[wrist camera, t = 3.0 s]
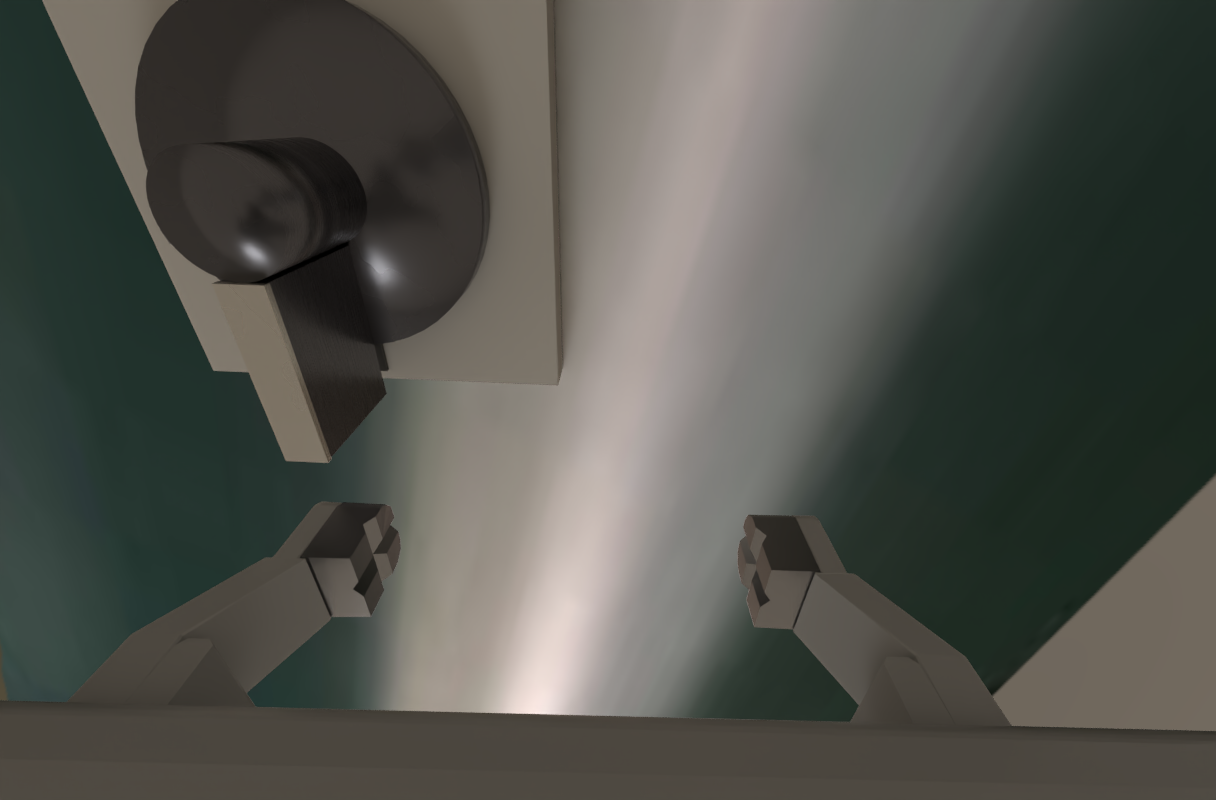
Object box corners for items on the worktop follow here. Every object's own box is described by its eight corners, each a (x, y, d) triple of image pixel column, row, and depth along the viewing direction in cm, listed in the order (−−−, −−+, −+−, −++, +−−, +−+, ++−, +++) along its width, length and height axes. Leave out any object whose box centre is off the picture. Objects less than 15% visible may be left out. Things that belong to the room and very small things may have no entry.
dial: (97, -22, 12) (-193, -96, 8) (469, -10, 12) (382, -81, 8) (259, 375, 19) (145, 454, 14) (507, 385, 19) (469, 469, 14)
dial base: (551, -90, 13) (541, -116, 11) (562, 368, 20) (557, 387, 19) (47, -103, 13) (-25, -131, 11) (239, 354, 20) (210, 372, 19)
